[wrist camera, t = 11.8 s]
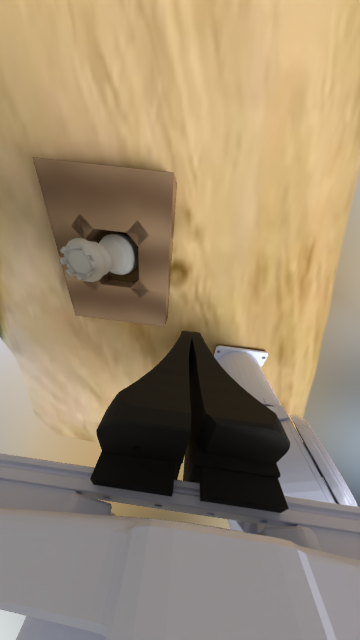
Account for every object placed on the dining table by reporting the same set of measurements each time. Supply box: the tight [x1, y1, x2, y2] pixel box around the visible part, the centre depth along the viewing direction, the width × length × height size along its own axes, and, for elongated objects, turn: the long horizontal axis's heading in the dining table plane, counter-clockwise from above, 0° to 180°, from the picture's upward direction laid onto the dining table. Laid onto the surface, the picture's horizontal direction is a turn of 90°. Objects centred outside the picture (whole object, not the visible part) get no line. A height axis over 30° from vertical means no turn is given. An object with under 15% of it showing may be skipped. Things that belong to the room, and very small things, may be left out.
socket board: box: [33, 157, 177, 327], centre depth 17 cm, size 15×12×2 cm
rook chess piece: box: [59, 233, 139, 282], centre depth 14 cm, size 4×4×8 cm
